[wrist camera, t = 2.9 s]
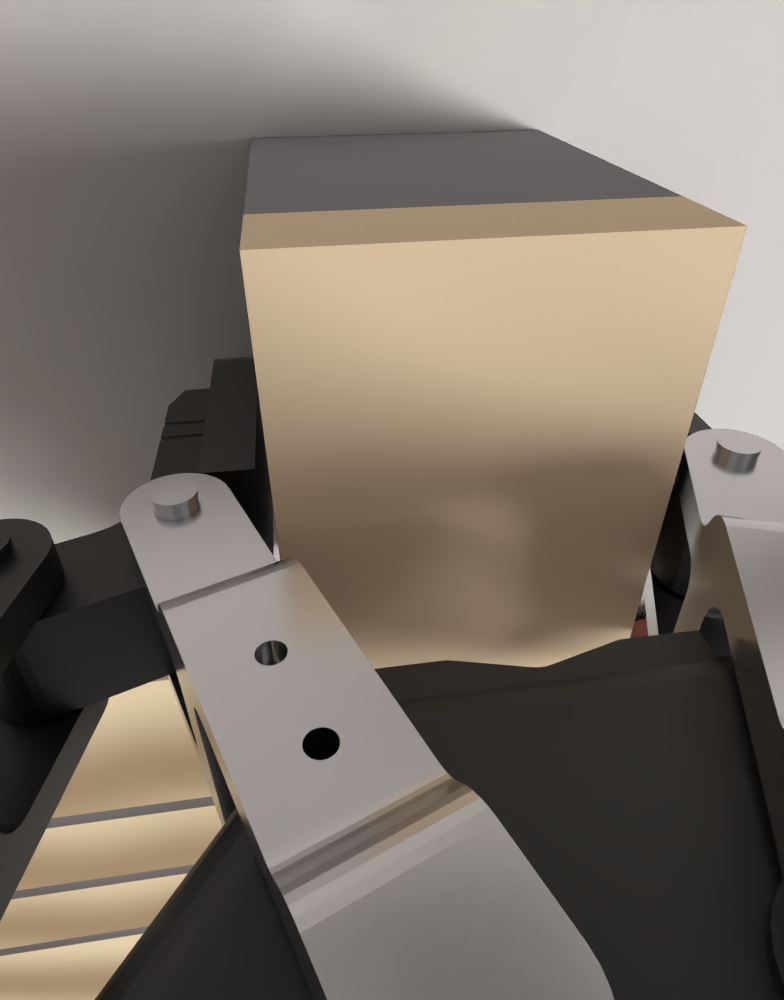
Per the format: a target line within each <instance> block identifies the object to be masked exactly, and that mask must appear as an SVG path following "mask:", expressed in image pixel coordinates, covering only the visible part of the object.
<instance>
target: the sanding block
mask: <svg viewBox="0 0 784 1000" xmlns="http://www.w3.org/2000/svg"><path fill="white" fill-rule="evenodd" d="M746 228H747V226H746V225H744V224H742V223H739V222H737V221H735V220H733V219H731V218H729V217H726V216H724V215H722V214H720V213H718V212H716V211H713V210H711V209H709V208H707V207H705V206H703V205H700V204H698V203H696V202H694V201H692V200H689V199H687V198H685V197H683V196H681V195H679V194H676V193H674V192H672V191H670V190H668V189H666V188H663V187H661V186H659V185H657V184H655V183H653V182H650V181H648V180H646V179H644V178H642V177H640V176H637V175H635V174H633V173H631V172H629V171H626V170H624V169H622V168H620V167H618V166H616V165H613V164H611V163H609V162H607V161H605V160H603V159H600V158H598V157H596V156H594V155H592V154H590V153H587V152H585V151H583V150H581V149H579V148H576V147H574V146H572V145H570V144H568V143H566V142H563V141H561V140H559V139H557V138H555V137H553V136H550V135H548V134H546V133H544V132H542V131H540V130H516V131H481V132H446V133H411V134H377V135H342V136H307V137H272V138H251V145H250V155H249V164H248V174H247V183H246V193H245V202H244V212H243V221H242V231H241V241H240V258H241V265H242V273H243V280H244V288H245V296H246V303H247V311H248V318H249V326H250V334H251V341H252V349H253V356H254V364H255V372H256V379H257V387H258V394H259V402H260V409H261V417H262V425H263V432H264V440H265V447H266V455H267V463H268V470H269V478H270V485H271V493H272V500H273V508H274V516H275V523H276V531H277V538H278V546H279V554H280V561H281V560H284V559H287V558H290V557H294V558H295V559H297V560H298V561H299V562H300V563H301V565H302V566H303V567H304V569H305V570H306V572H307V573H308V574H309V576H310V577H311V579H312V580H313V582H314V583H315V585H316V586H317V587H318V589H319V590H320V592H321V593H322V595H323V596H324V598H325V599H326V600H327V602H328V603H329V605H330V606H331V608H332V609H333V610H334V612H335V613H336V615H337V616H338V618H339V619H340V621H341V622H342V623H343V625H344V626H345V628H346V629H347V631H348V632H349V634H350V635H351V636H352V638H353V639H354V641H355V642H356V644H357V645H358V646H359V648H360V649H361V651H362V652H363V654H364V655H365V657H366V658H367V659H368V661H369V662H370V664H371V665H372V667H373V668H374V669H376V668H385V667H393V666H401V665H410V664H418V663H427V662H435V661H443V660H453V661H465V662H477V663H489V664H500V665H512V666H524V667H545V666H549V665H552V664H554V663H557V662H560V661H563V660H565V659H568V658H571V657H573V656H576V655H579V654H581V653H584V652H587V651H589V650H592V649H595V648H598V647H600V646H603V645H606V644H608V643H611V642H614V641H616V640H619V639H628V638H630V636H631V632H632V629H633V625H634V622H635V618H636V615H637V611H638V608H639V604H640V601H641V597H642V594H643V590H644V587H645V583H646V580H647V576H648V573H649V569H650V566H651V562H652V559H653V555H654V552H655V548H656V545H657V541H658V538H659V534H660V530H661V527H662V523H663V520H664V516H665V513H666V509H667V506H668V502H669V499H670V495H671V492H672V488H673V485H674V481H675V478H676V474H677V471H678V467H679V464H680V460H681V457H682V453H683V450H684V446H685V443H686V439H687V436H688V432H689V429H690V425H691V422H692V418H693V414H694V411H695V407H696V404H697V400H698V397H699V393H700V390H701V386H702V383H703V379H704V376H705V372H706V369H707V365H708V362H709V358H710V355H711V351H712V348H713V344H714V341H715V337H716V334H717V330H718V327H719V323H720V320H721V316H722V313H723V309H724V305H725V302H726V298H727V295H728V291H729V288H730V284H731V281H732V277H733V274H734V270H735V267H736V263H737V260H738V256H739V253H740V249H741V246H742V242H743V239H744V235H745V232H746Z"/></svg>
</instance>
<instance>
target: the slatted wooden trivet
mask: <svg viewBox="0 0 784 1000" xmlns="http://www.w3.org/2000/svg"><path fill="white" fill-rule="evenodd" d="M221 828H222V824H221V822H220V819H219V816H218V813H217V810H216V807H215V804H214V801H213V798H212V795H211V792H210V789H209V786H208V783H207V780H206V777H205V774H204V771H203V769H202V766H201V763H200V760H199V758H198V755H197V752H196V750H195V747H194V744H193V742H192V739H191V737H190V734H189V731H188V729H187V726H186V723H185V721H184V718H183V715H182V713H181V710H180V707H179V705H178V702H177V700H176V697H175V694H174V692H173V689H172V686H171V684H170V681H169V678H168V676H165V677H162V678H160V679H157V680H155V681H152V682H149V683H147V684H144V685H141V686H139V687H136V688H133V689H131V690H128V691H125V692H123V693H120V694H118V695H115V696H112V697H110V698H109V700H108V704H107V707H106V709H105V711H104V713H103V715H102V717H101V719H100V721H99V723H98V725H97V727H96V729H95V731H94V733H93V735H92V737H91V739H90V742H89V744H88V746H87V748H86V750H85V752H84V754H83V756H82V758H81V760H80V762H79V764H78V766H77V768H76V770H75V772H74V774H73V776H72V778H71V780H70V782H69V784H68V786H67V788H66V790H65V792H64V794H63V796H62V798H61V800H60V802H59V804H58V806H57V808H56V810H55V812H54V814H53V816H52V818H51V820H50V822H49V824H48V826H47V828H46V830H45V832H44V834H43V836H42V838H41V840H40V842H39V844H38V846H37V848H36V850H35V852H34V854H33V856H32V858H31V860H30V862H29V864H28V867H27V869H26V871H25V873H24V875H23V877H22V879H21V881H20V883H19V885H18V887H17V889H16V891H15V893H14V895H13V897H12V899H11V901H10V903H9V905H8V907H7V909H6V911H5V913H4V915H3V917H2V919H1V921H0V1000H95V998H96V997H97V996H98V994H99V993H100V991H101V990H102V989H103V987H104V986H105V985H106V983H107V982H108V981H109V979H110V978H111V977H112V975H113V974H114V973H115V971H116V970H117V968H118V967H119V966H120V964H121V963H122V962H123V960H124V959H125V958H126V956H127V955H128V954H129V952H130V951H131V950H132V948H133V947H134V945H135V944H136V943H137V941H138V940H139V939H140V937H141V936H142V935H143V933H144V932H145V931H146V929H147V928H148V927H149V925H150V924H151V922H152V921H153V920H154V918H155V917H156V916H157V914H158V913H159V912H160V910H161V909H162V908H163V906H164V905H165V904H166V902H167V901H168V899H169V898H170V897H171V895H172V894H173V893H174V891H175V890H176V889H177V887H178V886H179V885H180V883H181V882H182V881H183V879H184V878H185V876H186V875H187V874H188V872H189V871H190V870H191V868H192V867H193V866H194V864H195V863H196V862H197V860H198V859H199V858H200V856H201V855H202V853H203V852H204V851H205V849H206V848H207V847H208V845H209V844H210V843H211V841H212V840H213V839H214V837H215V836H216V835H217V833H218V832H219V830H220V829H221Z"/></svg>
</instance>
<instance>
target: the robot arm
mask: <svg viewBox="0 0 784 1000" xmlns="http://www.w3.org/2000/svg"><path fill="white" fill-rule="evenodd" d="M161 439H162V441H160V444H159V448H158V452H157V456H156V461H155V465H154V469H153V473H152V477H151V481H149V482H147V483H145V484H143V485H141V486H139V487H138V488H136V489H135V490H134V491H132V492H131V493H130V494H129V495H128V496H127V497H126V498H125V500H124V501H123V502H122V504H121V507H120V512H119V515H120V520H121V522H119V523H117V524H115V525H113V526H111V527H109V528H106V529H104V530H101V531H98V532H95V533H92V534H89V535H86V536H82V537H79V538H75V539H72V540H68V541H65V542H61V543H58V544H54V542H53V540H52V537H51V534H50V532H49V531H48V530H47V528H45V527H44V526H43V525H41V524H39V523H37V522H35V521H30V520H26V519H2V520H0V921H1V919H2V917H3V915H4V913H5V911H6V909H7V907H8V905H9V903H10V901H11V899H12V897H13V895H14V893H15V891H16V889H17V887H18V885H19V883H20V881H21V879H22V877H23V875H24V873H25V871H26V869H27V867H28V864H29V862H30V860H31V858H32V856H33V854H34V852H35V850H36V848H37V846H38V844H39V842H40V840H41V838H42V836H43V834H44V832H45V830H46V828H47V826H48V824H49V822H50V820H51V818H52V816H53V814H54V812H55V810H56V808H57V806H58V804H59V802H60V800H61V798H62V796H63V794H64V792H65V790H66V788H67V786H68V784H69V782H70V780H71V778H72V776H73V774H74V772H75V770H76V768H77V766H78V764H79V762H80V760H81V758H82V756H83V754H84V752H85V750H86V748H87V746H88V744H89V742H90V739H91V737H92V735H93V733H94V731H95V729H96V727H97V725H98V723H99V721H100V719H101V717H102V715H103V713H104V711H105V709H106V707H107V704H108V700H109V698H110V697H112V696H115V695H118V694H120V693H123V692H125V691H128V690H131V689H133V688H136V687H139V686H141V685H144V684H147V683H149V682H152V681H155V680H157V679H160V678H162V677H165V676H168V678H169V681H170V684H171V686H172V689H173V692H174V694H175V697H176V700H177V702H178V705H179V707H180V710H181V713H182V715H183V718H184V721H185V723H186V726H187V729H188V731H189V734H190V737H191V739H192V742H193V744H194V747H195V750H196V752H197V755H198V758H199V760H200V763H201V766H202V769H203V771H204V774H205V777H206V780H207V783H208V786H209V789H210V792H211V795H212V798H213V801H214V804H215V807H216V810H217V813H218V816H219V819H220V822H221V824H222V828H221V829H220V830H219V832H218V833H217V835H216V836H215V837H214V839H213V840H212V841H211V843H210V844H209V845H208V847H207V848H206V849H205V851H204V852H203V853H202V855H201V856H200V858H199V859H198V860H197V862H196V863H195V864H194V866H193V867H192V868H191V870H190V871H189V872H188V874H187V875H186V876H185V878H184V879H183V881H182V882H181V883H180V885H179V886H178V887H177V889H176V890H175V891H174V893H173V894H172V895H171V897H170V898H169V899H168V901H167V902H166V904H165V905H164V906H163V908H162V909H161V910H160V912H159V913H158V914H157V916H156V917H155V918H154V920H153V921H152V922H151V924H150V925H149V927H148V928H147V929H146V931H145V932H144V933H143V935H142V936H141V937H140V939H139V940H138V941H137V943H136V944H135V945H134V947H133V948H132V950H131V951H130V952H129V954H128V955H127V956H126V958H125V959H124V960H123V962H122V963H121V964H120V966H119V967H118V968H117V970H116V971H115V973H114V974H113V975H112V977H111V978H110V979H109V981H108V982H107V983H106V985H105V986H104V987H103V989H102V990H101V991H100V993H99V994H98V996H97V997H96V998H95V1000H784V451H783V450H782V449H780V448H779V447H778V446H776V445H775V444H773V443H771V442H770V441H768V440H765V439H763V438H761V437H758V436H756V435H753V434H749V433H746V432H741V431H736V430H729V429H712V428H710V427H709V426H708V425H707V424H706V423H705V422H704V421H703V420H702V419H701V418H700V417H699V416H698V415H697V414H696V413H695V412H694V414H693V418H692V422H691V425H690V429H689V432H688V436H687V439H686V443H685V446H684V450H683V453H682V457H681V460H680V464H679V467H678V471H677V474H676V478H675V481H674V485H673V488H672V492H671V495H670V499H669V502H668V506H667V509H666V513H665V516H664V520H663V523H662V527H661V530H660V534H659V538H658V541H657V545H656V548H655V552H654V555H653V559H652V562H651V566H650V569H649V573H648V576H647V580H646V583H645V587H644V600H645V609H646V619H647V628H648V636H644V637H636V638H628V639H619V640H616V641H614V642H611V643H608V644H606V645H603V646H600V647H598V648H595V649H592V650H589V651H587V652H584V653H581V654H579V655H576V656H573V657H571V658H568V659H565V660H563V661H560V662H557V663H554V664H552V665H549V666H545V667H524V666H512V665H500V664H489V663H477V662H465V661H453V660H443V661H435V662H427V663H418V664H410V665H401V666H393V667H385V668H376V669H374V668H373V667H372V665H371V664H370V662H369V661H368V659H367V658H366V657H365V655H364V654H363V652H362V651H361V649H360V648H359V646H358V645H357V644H356V642H355V641H354V639H353V638H352V636H351V635H350V634H349V632H348V631H347V629H346V628H345V626H344V625H343V623H342V622H341V621H340V619H339V618H338V616H337V615H336V613H335V612H334V610H333V609H332V608H331V606H330V605H329V603H328V602H327V600H326V599H325V598H324V596H323V595H322V593H321V592H320V590H319V589H318V587H317V586H316V585H315V583H314V582H313V580H312V579H311V577H310V576H309V574H308V573H307V572H306V570H305V569H304V567H303V566H302V565H301V563H300V562H299V561H298V560H297V559H295V558H294V557H290V558H287V559H284V560H281V561H278V562H277V561H276V559H275V558H274V556H273V500H272V493H271V485H270V478H269V470H268V463H267V455H266V447H265V440H264V432H263V425H262V417H261V409H260V402H259V394H258V387H257V379H256V372H255V364H254V357H244V358H229V359H215V360H214V364H213V371H212V378H211V385H210V389H196V390H185V391H184V392H183V393H182V394H181V395H180V396H179V397H178V398H177V399H176V400H175V401H173V402H172V403H171V404H170V405H169V407H168V411H167V415H166V419H165V426H164V428H163V432H162V436H161Z"/></svg>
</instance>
